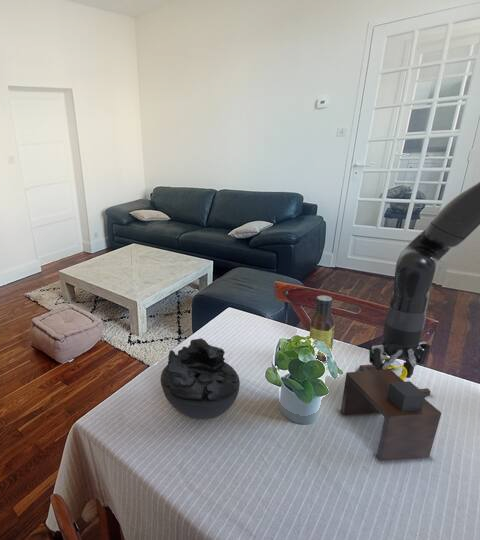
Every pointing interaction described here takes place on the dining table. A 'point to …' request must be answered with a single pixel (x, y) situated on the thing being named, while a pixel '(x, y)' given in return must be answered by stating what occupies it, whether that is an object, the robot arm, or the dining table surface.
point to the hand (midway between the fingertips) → (393, 376)
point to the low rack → (372, 367)
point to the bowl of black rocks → (200, 381)
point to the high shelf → (391, 415)
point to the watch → (397, 366)
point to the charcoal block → (406, 396)
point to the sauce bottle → (323, 323)
